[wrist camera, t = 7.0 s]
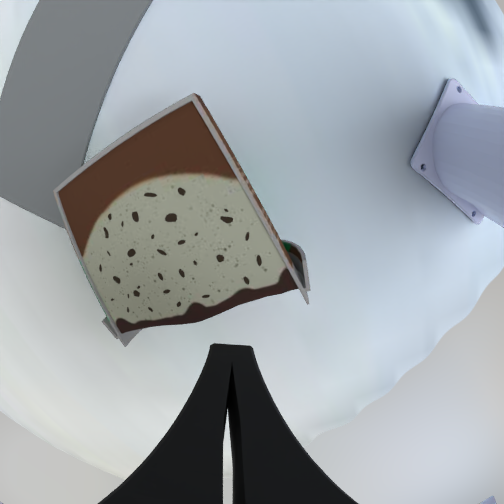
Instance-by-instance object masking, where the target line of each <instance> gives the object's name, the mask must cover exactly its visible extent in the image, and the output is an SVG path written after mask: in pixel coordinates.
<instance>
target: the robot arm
mask: <svg viewBox="0 0 504 504" xmlns="http://www.w3.org/2000/svg"><path fill="white" fill-rule="evenodd" d="M457 88H458V91H457ZM422 164H423V169H422V170H421V165H422ZM411 167H412V168H413V169H414V170H415V171H417V172H418V173H419V174H420V175H422V176H423V177H424V178H425V179H427V180H428V181H429V182H430V183H431V184H433V185H434V186H435V187H436V188H437V189H438V190H440V191H441V192H442V193H443V194H444V195H445V196H446V197H448V198H449V199H450V200H451V201H452V202H453V203H454V204H455V205H456V206H457V207H459V208H460V209H461V210H462V211H463V212H464V213H465V214H466V215H467V216H468V217H469V218H470V219H471V220H472V221H473V222H474V223H476V224H480V223H481V221H482V220H483V218H484V216H485V217H487V218H489V219H490V220H492V221H494V222H495V223H497V224H498V225H500V226H502V227H503V228H504V108H503V107H495V106H488V105H479V104H478V103H477V102H476V101H475V100H474V99H473V97H472V96H471V95H470V94H469V93H468V92H467V91H466V90H465V89H464V88H463V87H462V85H461V84H460V83H459V82H458V81H457V80H455V79H449V80H448V81H447V84H446V86H445V88H444V91H443V93H442V95H441V98H440V100H439V102H438V105H437V107H436V109H435V111H434V114H433V116H432V118H431V120H430V122H429V124H428V126H427V128H426V131H425V133H424V135H423V137H422V139H421V141H420V143H419V145H418V147H417V149H416V151H415V153H414V155H413V157H412V159H411ZM472 212H473V213H472ZM227 409H228V416H229V429H230V440H231V451H232V463H233V504H358V503H357V502H355V501H354V500H353V499H352V498H351V497H349V496H348V495H347V494H346V493H345V492H344V491H343V490H341V489H340V488H339V487H338V486H337V485H336V484H335V483H334V482H333V481H332V480H331V479H330V478H329V477H328V476H327V475H326V474H325V473H324V472H323V470H322V469H321V468H320V467H319V466H318V465H317V464H316V463H315V462H314V461H313V460H312V458H311V457H310V456H309V455H308V453H307V452H306V451H305V450H304V448H303V447H302V446H301V444H300V443H299V441H298V440H297V439H296V437H295V436H294V434H293V433H292V431H291V430H290V428H289V427H288V425H287V424H286V422H285V420H284V419H283V417H282V415H281V414H280V412H279V410H278V408H277V406H276V405H275V403H274V401H273V399H272V397H271V395H270V393H269V391H268V388H267V386H266V384H265V382H264V380H263V377H262V375H261V372H260V370H259V367H258V364H257V361H256V358H255V355H254V351H253V348H252V347H251V346H246V345H230V344H216V343H214V344H212V345H210V349H209V353H208V357H207V360H206V362H205V365H204V367H203V370H202V372H201V375H200V377H199V379H198V381H197V383H196V385H195V387H194V389H193V391H192V393H191V395H190V397H189V398H188V400H187V402H186V403H185V405H184V407H183V409H182V410H181V412H180V414H179V415H178V417H177V418H176V420H175V421H174V423H173V424H172V426H171V427H170V429H169V430H168V432H167V433H166V434H165V436H164V437H163V438H162V440H161V441H160V442H159V443H158V445H157V446H156V447H155V448H154V450H153V451H152V452H151V453H150V455H149V456H148V457H147V458H146V459H145V460H144V461H143V463H142V464H141V465H140V466H139V467H138V468H137V469H136V470H135V471H134V472H133V473H132V474H131V475H130V476H129V477H128V478H127V479H126V480H125V481H124V482H123V483H122V484H121V485H120V486H119V487H118V488H116V489H115V490H114V491H113V492H111V493H110V494H109V495H108V496H107V497H105V498H104V499H103V500H102V501H101V502H99V503H98V504H223V440H224V432H225V424H226V417H227ZM0 504H3V503H1V502H0ZM479 504H496V501H495V498H494V496H491V497H489V498H488V499H486V500H484V501H482V502H481V503H479Z"/></svg>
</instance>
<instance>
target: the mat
mask: <svg viewBox="0 0 504 504" xmlns="http://www.w3.org/2000/svg"><path fill="white" fill-rule="evenodd" d="M152 1H153V0H39V2H38V4H37V6H36V8H35V10H34V12H33V14H32V16H31V18H30V20H29V22H28V24H27V26H26V28H25V31H24V33H23V35H22V37H21V40H20V42H19V45H18V47H17V50H16V52H15V55H14V58H13V60H12V63H11V66H10V69H9V72H8V75H7V78H6V81H5V84H4V88H3V91H2V95H1V98H0V197H2V198H4V199H6V200H8V201H10V202H12V203H14V204H16V205H18V206H19V207H21V208H23V209H25V210H27V211H29V212H31V213H33V214H35V215H38V216H40V217H42V218H44V219H46V220H48V221H50V222H52V223H54V224H56V225H58V226H60V227H62V228H65V229H66V227H65V224H64V222H63V219H62V216H61V213H60V211H59V208H58V205H57V202H56V199H55V196H54V193H53V190H54V189H55V188H57V187H58V186H59V185H60V184H61V183H62V182H63V181H65V180H66V179H67V178H68V177H69V176H71V175H72V174H73V173H74V172H75V171H77V170H78V169H79V168H80V167H82V166H83V163H84V159H85V156H86V152H87V149H88V145H89V142H90V139H91V135H92V132H93V129H94V126H95V123H96V120H97V117H98V114H99V111H100V109H101V106H102V103H103V100H104V98H105V95H106V93H107V90H108V88H109V85H110V83H111V80H112V78H113V76H114V73H115V71H116V69H117V67H118V64H119V62H120V60H121V58H122V56H123V54H124V52H125V50H126V47H127V45H128V43H129V41H130V40H131V38H132V36H133V34H134V32H135V30H136V28H137V26H138V25H139V23H140V21H141V19H142V17H143V16H144V14H145V12H146V11H147V9H148V7H149V6H150V4H151V2H152Z"/></svg>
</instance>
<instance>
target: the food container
mask: <svg viewBox="0 0 504 504" xmlns="http://www.w3.org/2000/svg"><path fill="white" fill-rule="evenodd" d="M53 193H54V196H55V199H56V202H57V205H58V208H59V211H60V213H61V216H62V219H63V222H64V224H65V227H66V230H67V232H68V235H69V237H70V240H71V242H72V245H73V247H74V249H75V252H76V254H77V257H78V259H79V261H80V263H81V266H82V268H83V270H84V272H85V274H86V277H87V279H88V281H89V283H90V285H91V287H92V289H93V291H94V293H95V295H96V297H97V299H98V301H99V303H100V305H101V307H102V309H103V311H104V312H105V314H106V316H107V317H106V318H105V319H104V320H103V321H102V322H103V324H104V325H105V326H106V327H107V328H108V330H109V331H110V332H111V333H112V334H113V335H114V337H115V338H116V339H118V338H119V339H120V341H121V342H122V343H123V345H124V346H125V347H126V346H127V345H128V343H129V342H130V341H131V340H132V339H133V338H134V336H135V335H136V334H137V333H138V332H139V331H140V330H142V329H143V328H148V327H153V326H162V325H178V324H188V323H196V322H200V321H203V320H205V319H208V318H210V317H213V316H215V315H217V314H220V313H222V312H224V311H227V310H229V309H231V308H233V307H235V306H238V305H240V304H244V303H247V302H250V301H254V300H257V299H260V298H263V297H267V296H272V295H277V294H282V293H284V292H287V291H290V290H294V289H299V290H300V292H301V294H302V295H303V297H304V299H305V301H306V303H307V305H308V304H309V300H308V295H307V291H310V284H309V277H308V270H307V263H306V258H305V253H304V252H303V250H302V249H301V247H300V246H298V245H296V244H295V243H293V242H290V241H286V240H281V239H280V237H279V236H278V234H277V232H276V230H275V228H274V226H273V224H272V223H271V221H270V219H269V217H268V215H267V213H266V211H265V210H264V208H263V206H262V204H261V202H260V200H259V199H258V197H257V195H256V193H255V191H254V190H253V188H252V186H251V184H250V182H249V181H248V179H247V177H246V175H245V173H244V172H243V170H242V168H241V166H240V164H239V163H238V161H237V159H236V157H235V156H234V154H233V152H232V150H231V149H230V147H229V145H228V143H227V142H226V140H225V138H224V136H223V135H222V133H221V131H220V129H219V128H218V126H217V124H216V123H215V121H214V119H213V117H212V116H211V114H210V112H209V111H208V109H207V107H206V106H205V104H204V102H203V101H202V99H201V97H200V96H199V95H197V94H195V93H193V94H191V95H189V96H187V97H186V98H184V99H182V100H180V101H178V102H177V103H175V104H173V105H171V106H169V107H168V108H166V109H164V110H163V111H161V112H159V113H158V114H156V115H154V116H153V117H151V118H149V119H148V120H146V121H145V122H143V123H142V124H140V125H138V126H137V127H135V128H134V129H132V130H131V131H129V132H128V133H126V134H125V135H123V136H122V137H121V138H119V139H118V140H116V141H115V142H113V143H112V144H111V145H109V146H108V147H106V148H105V149H104V150H102V151H101V152H100V153H98V154H97V155H96V156H94V157H93V158H92V159H90V160H89V161H88V162H87V163H85V164H84V165H83V166H82V167H80V168H79V169H78V170H77V171H75V172H74V173H73V174H72V175H71V176H69V177H68V178H67V179H66V180H65V181H63V182H62V183H61V184H60V185H59V186H58V187H57V188H55V189H54V190H53Z"/></svg>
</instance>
